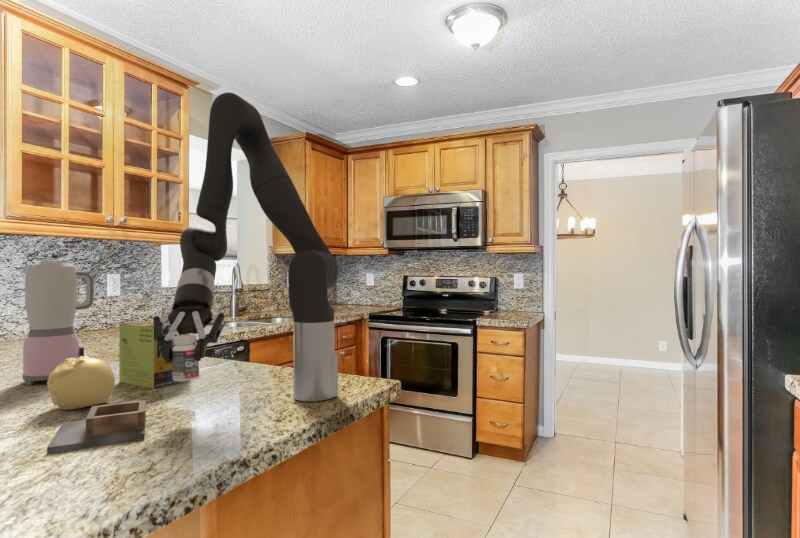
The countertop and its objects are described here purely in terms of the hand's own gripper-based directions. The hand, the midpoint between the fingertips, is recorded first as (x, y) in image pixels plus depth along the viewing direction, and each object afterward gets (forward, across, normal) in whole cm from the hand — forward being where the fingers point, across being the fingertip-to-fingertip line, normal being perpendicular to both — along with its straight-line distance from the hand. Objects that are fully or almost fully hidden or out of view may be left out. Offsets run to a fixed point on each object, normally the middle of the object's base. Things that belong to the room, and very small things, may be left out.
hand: (183, 359), depth 89 cm
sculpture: (-4, -24, +20) cm, 32 cm away
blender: (-26, -42, +42) cm, 65 cm away
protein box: (-19, -16, +35) cm, 43 cm away
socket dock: (+11, -13, +6) cm, 18 cm away
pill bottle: (+2, 0, +4) cm, 5 cm away
